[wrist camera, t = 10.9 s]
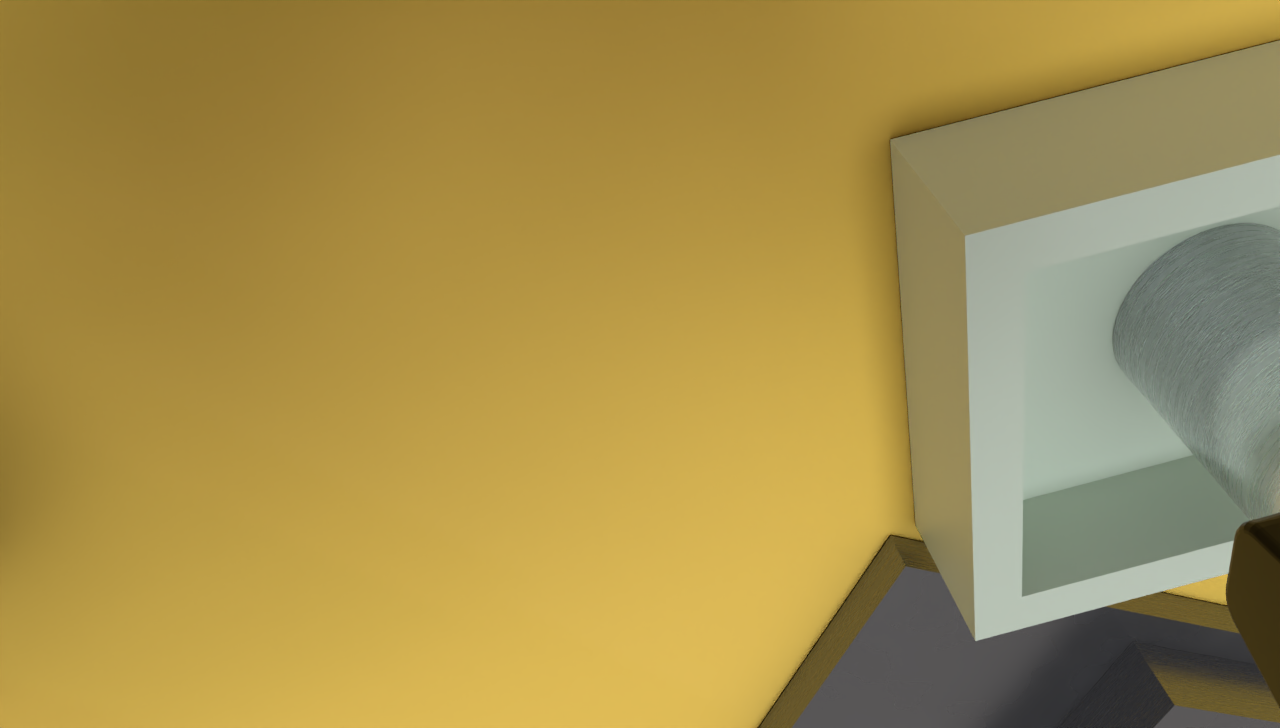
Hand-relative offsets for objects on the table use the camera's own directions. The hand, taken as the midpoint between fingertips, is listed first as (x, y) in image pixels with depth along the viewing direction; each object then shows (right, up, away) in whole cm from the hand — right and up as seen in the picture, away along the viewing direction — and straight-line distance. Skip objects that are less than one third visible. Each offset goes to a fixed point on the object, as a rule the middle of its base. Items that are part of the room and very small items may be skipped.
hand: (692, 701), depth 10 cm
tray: (+11, +4, +16) cm, 19 cm away
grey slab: (+10, -6, +23) cm, 26 cm away
